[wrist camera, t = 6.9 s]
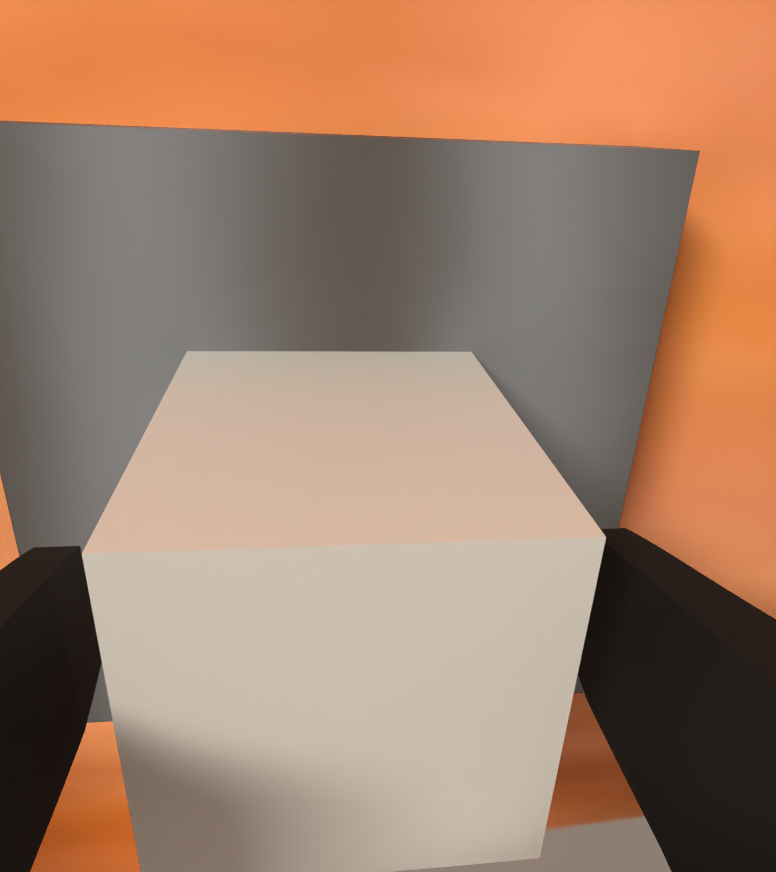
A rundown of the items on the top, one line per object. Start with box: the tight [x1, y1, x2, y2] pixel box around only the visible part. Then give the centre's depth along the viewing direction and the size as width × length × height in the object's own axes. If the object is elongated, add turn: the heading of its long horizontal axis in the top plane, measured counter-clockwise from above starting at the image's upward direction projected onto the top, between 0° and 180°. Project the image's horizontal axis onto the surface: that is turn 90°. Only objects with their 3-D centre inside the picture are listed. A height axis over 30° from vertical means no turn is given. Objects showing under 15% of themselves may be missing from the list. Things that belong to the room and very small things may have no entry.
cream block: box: [82, 351, 606, 872], centre depth 10 cm, size 5×5×6 cm
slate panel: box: [0, 121, 700, 723], centre depth 14 cm, size 12×12×3 cm
